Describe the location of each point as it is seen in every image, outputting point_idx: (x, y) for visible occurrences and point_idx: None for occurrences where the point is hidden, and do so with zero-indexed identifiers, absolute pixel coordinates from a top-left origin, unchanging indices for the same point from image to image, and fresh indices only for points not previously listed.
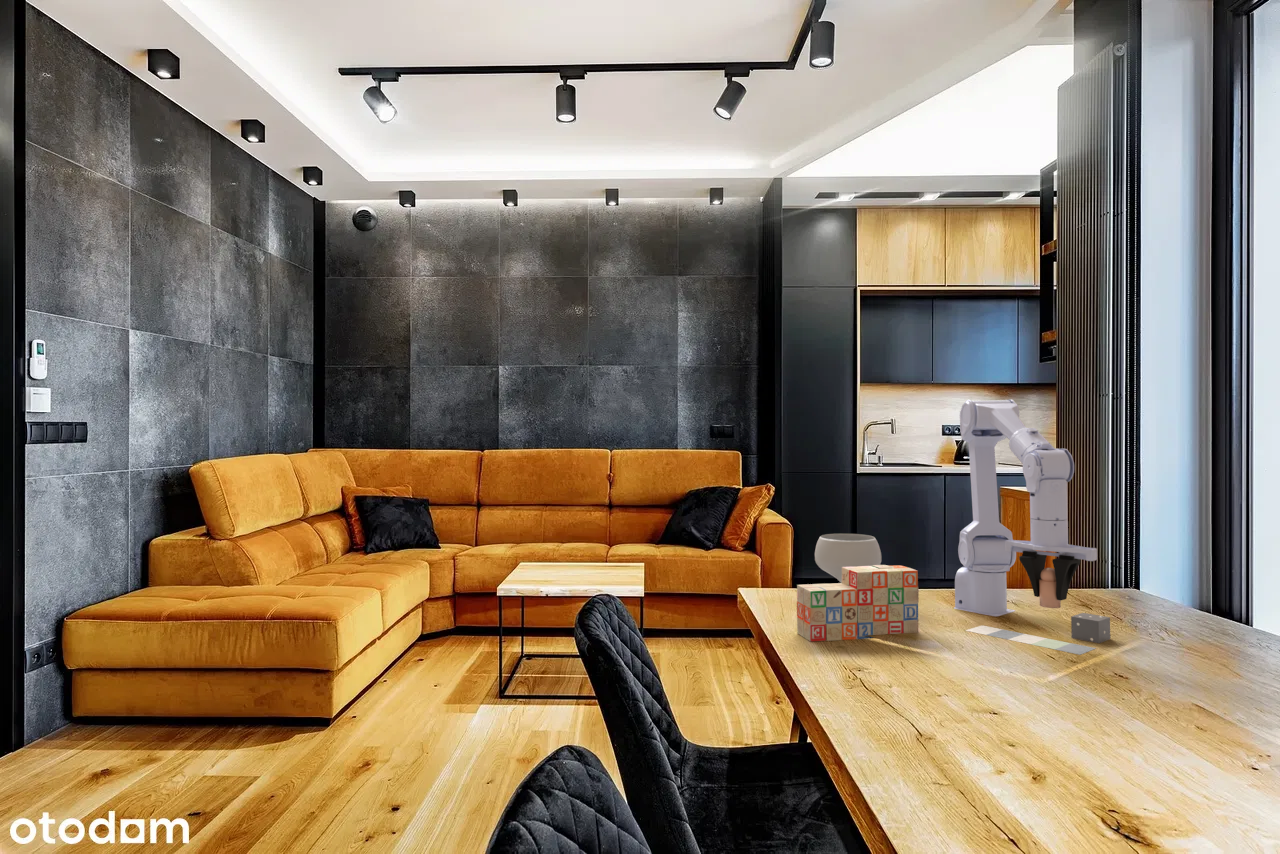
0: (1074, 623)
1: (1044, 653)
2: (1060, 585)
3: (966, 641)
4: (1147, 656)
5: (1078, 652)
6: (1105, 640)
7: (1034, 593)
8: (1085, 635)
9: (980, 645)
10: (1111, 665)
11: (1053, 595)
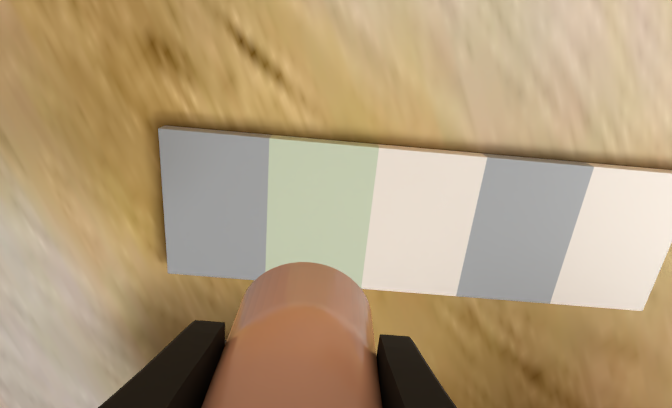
0: None
1: (300, 95)
2: (109, 406)
3: (656, 34)
4: (39, 326)
5: (180, 160)
6: None
7: (411, 345)
8: None
9: (578, 9)
10: (37, 111)
11: (238, 337)
